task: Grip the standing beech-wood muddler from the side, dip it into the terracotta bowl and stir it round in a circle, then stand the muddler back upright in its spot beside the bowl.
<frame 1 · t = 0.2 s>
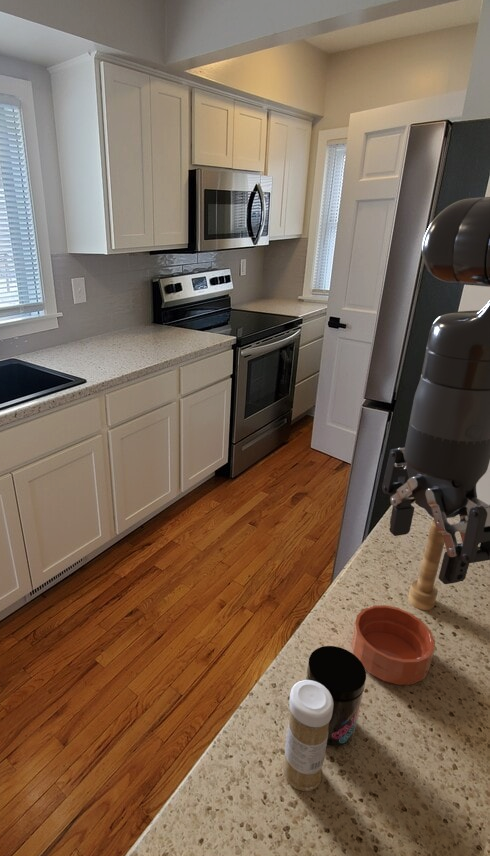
hand: (422, 555, 54), 26 cm above the countertop, tool pointing down, fingers open, 8 cm apart
supplement container: (327, 725, 64), on the countertop
muddler: (421, 601, 83), on the countertop
bowl: (388, 656, 73), on the countertop
sprinkles bottle: (301, 774, 58), on the countertop
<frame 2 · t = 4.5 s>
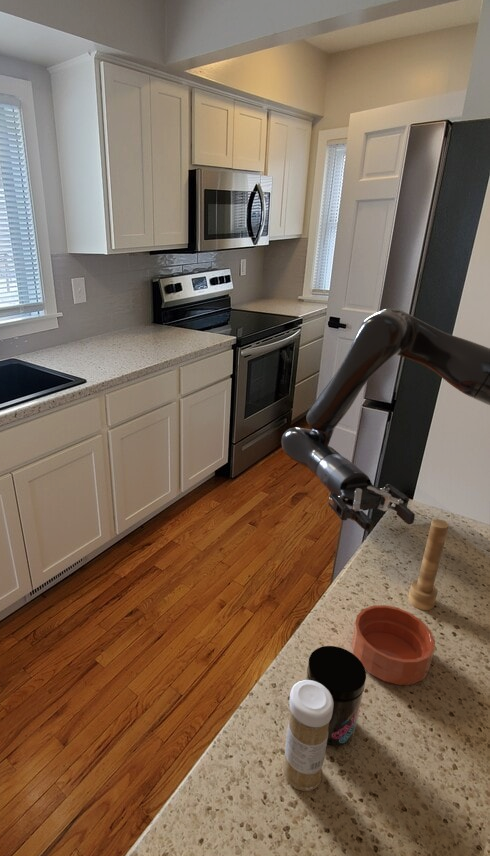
hand: (392, 524, 88), 9 cm above the countertop, tool horizontal, fingers open, 8 cm apart
nothing on the countertop moved.
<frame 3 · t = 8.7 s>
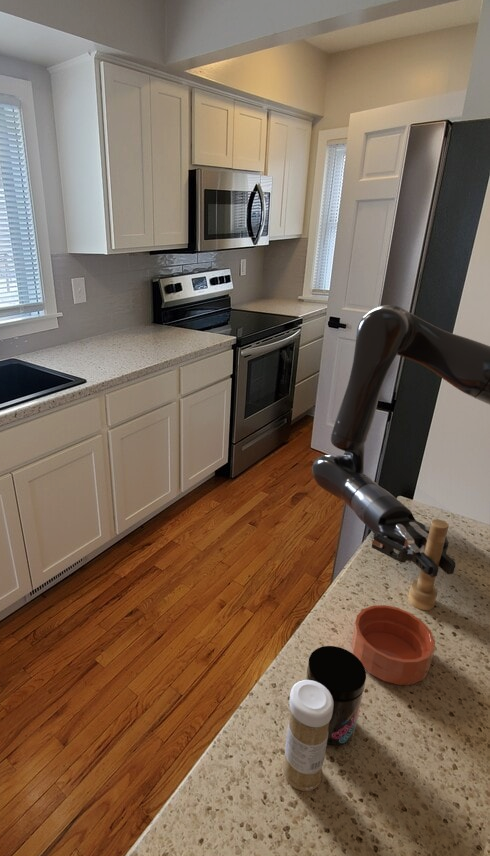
hand: (444, 570, 77), 9 cm above the countertop, tool horizontal, fingers closed on muddler, 2 cm apart
muddler: (421, 601, 83), on the countertop, touching gripper
everything else where it was.
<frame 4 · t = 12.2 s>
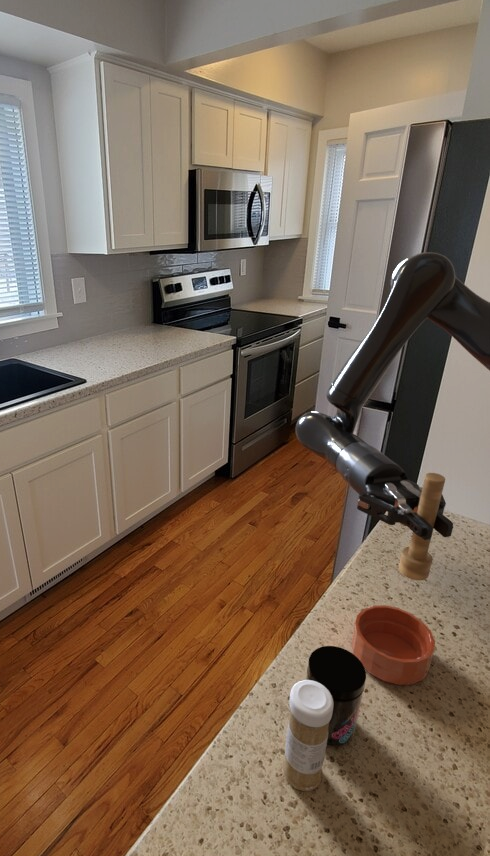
hand: (439, 532, 65), 21 cm above the countertop, tool horizontal, fingers closed on muddler, 2 cm apart
muddler: (413, 571, 72), point 12 cm above the countertop, touching gripper
everything else where it was.
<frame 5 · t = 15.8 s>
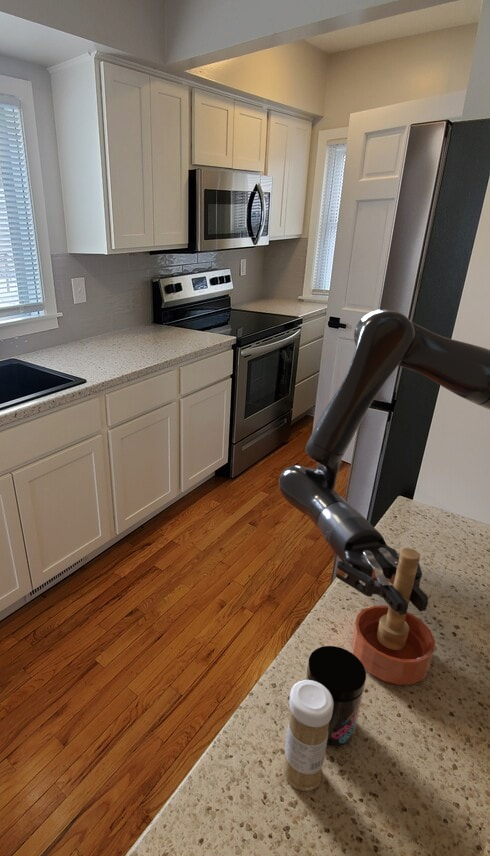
hand: (414, 607, 66), 11 cm above the countertop, tool horizontal, fingers closed on muddler, 2 cm apart
muddler: (391, 639, 73), point 2 cm above the countertop, touching gripper
everything else where it was.
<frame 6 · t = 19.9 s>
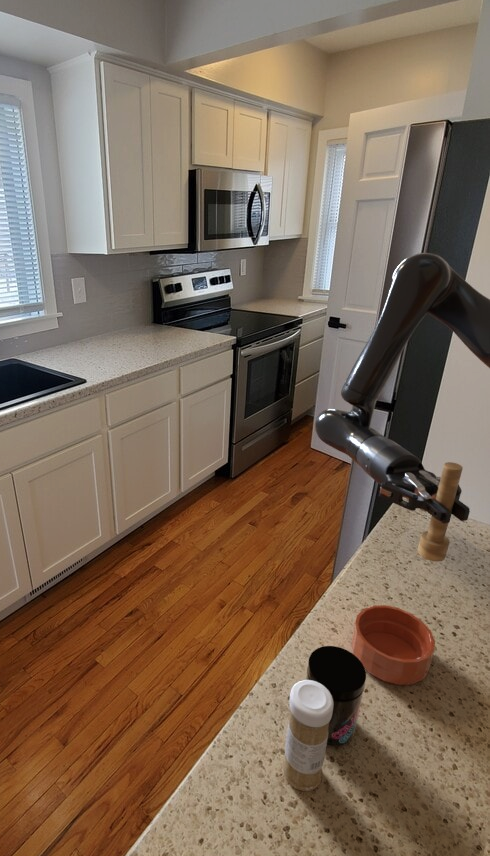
hand: (457, 516, 72), 20 cm above the countertop, tool horizontal, fingers closed on muddler, 2 cm apart
muddler: (431, 553, 78), point 11 cm above the countertop, touching gripper
everything else where it was.
when the fingers open (9 cm above the countertop, at t = 23.0 s): muddler stays where it is, on the countertop.
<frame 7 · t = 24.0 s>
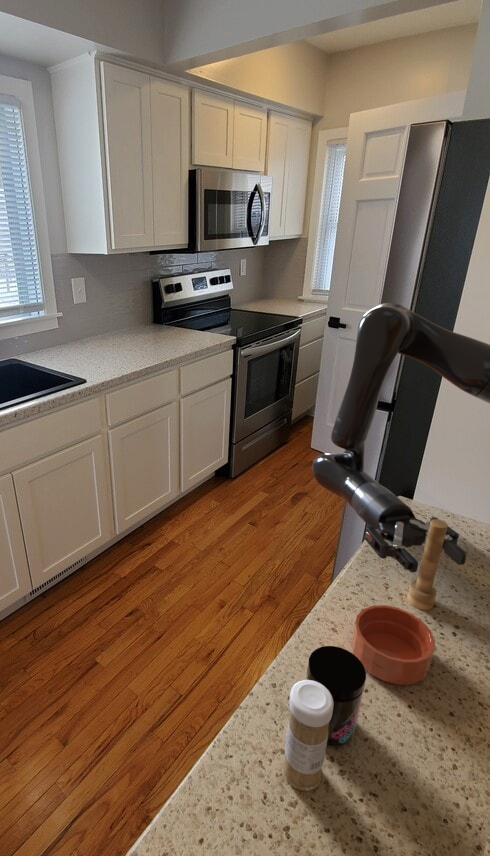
hand: (439, 564, 77), 9 cm above the countertop, tool horizontal, fingers open, 8 cm apart
muddler: (420, 601, 83), on the countertop
everything else where it was.
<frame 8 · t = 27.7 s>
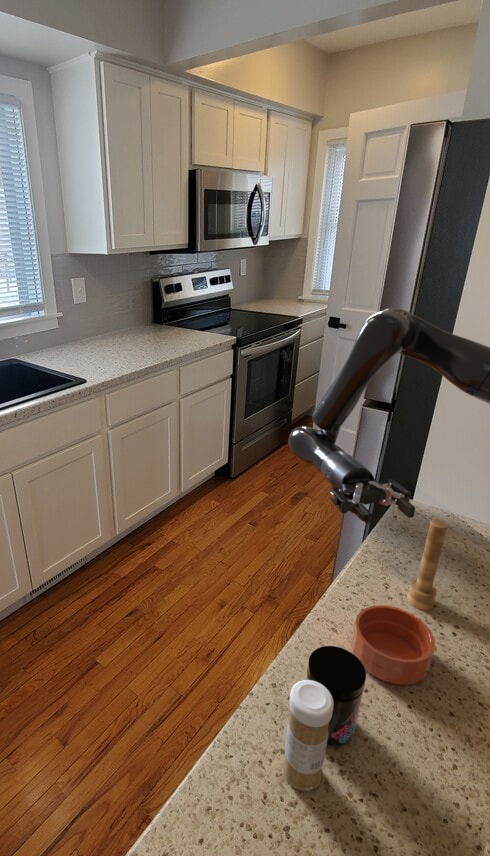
hand: (391, 516, 89), 10 cm above the countertop, tool horizontal, fingers open, 8 cm apart
nothing on the countertop moved.
at the end: muddler inside the target area (0.1 cm from its centre), on the countertop; muddler tilted 0°; the gripper is holding nothing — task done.
